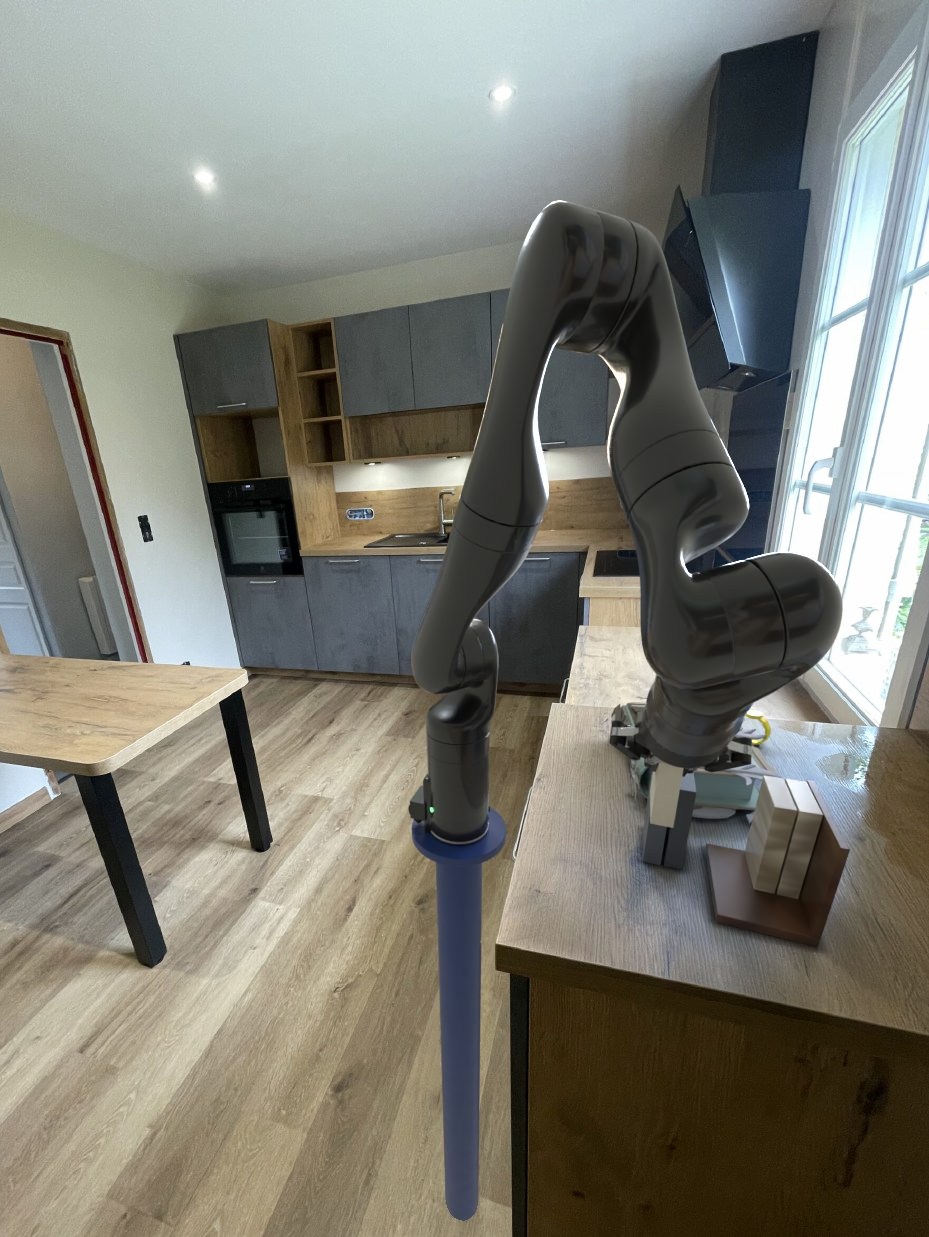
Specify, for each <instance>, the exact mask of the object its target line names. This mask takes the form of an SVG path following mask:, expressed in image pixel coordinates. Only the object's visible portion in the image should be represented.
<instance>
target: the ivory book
mask: <svg viewBox="0 0 929 1237" xmlns="http://www.w3.org/2000/svg"><path fill="white" fill-rule="evenodd" d="M683 769H684V768H680V767H675V766H672V765H669V764H667V763H665V762H662V763H659V765H658V767H657V770H656V772H653V775H652V781H651V788H650V823H651V824H656V825H661V826H666V827H671V828H673V826H674V820H675V815H676V809H677V803H678V797H679V792H680V786H681V780H682V774H683Z"/></svg>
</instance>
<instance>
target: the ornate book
mask: <svg viewBox="0 0 929 1237" xmlns="http://www.w3.org/2000/svg"><path fill="white" fill-rule="evenodd" d="M640 700H647V697H642V698H640ZM645 704H646V702H641V701H640V702H639V701H630V702H627V703H626V704H623V705H621V703H618V705H616V706H615V707H614V708H613V710H612V713H611V719H610V723H611V725H612V721H616V720H618V721H622V722H623V723H625V724H626V725H631V726H632V727H635V724H636V723H637V722H639V721H641V720H642V717H643V713H644V708H645ZM744 721H745V719H744ZM744 721H743V722H744ZM755 731H757V728H754V729H746V730H743V726H741V728H740V731H739V732H738V733H737V734H736V735H735V736H734V737H733V739H737V738H740V737H747V738H750V739H752V740H756V741H758V740H762V739H763V738H764V737H766V736H767V735H765V734H755ZM718 758H719V757H718ZM628 765H629V769H630V774H631V778H630V781H629V784H630V785H629V786H630V787H631V798H633V797H634V802H636V800H637V795H638V794H637V792H638V791H639V793H640V795H641V796H642V797H643V798H645V799H647V800H648V794H649V787H650V780H651V773H652V771H649V769H650V767H645V766H644V758H642V757H640V760H632V759H629V758H628ZM704 769H705V767H698V769H697V770H696V771H694V772H693V773H694V779H695V786H696V798H695V803H694V809H693V814H692V818H699V819H708V820H710V819H711V820H714V819H715V820H716V819H717V820H718V819H728V818H730V817H732V816H733V815H735V814H736V811H737V810H744V811H745V810H746V811H751V813H748V814H745V818H746V820H747V823H748V824H752V820H753V816H754V812H755V808H756V803H757V799H758V795H759V791H760V789H759V788H758V786H757V785H756V781H755V780H758V781H761V782H762V778H763V776H770V777H777V778H783V779H784V781H785V779H786V778H784V777H782V776H781V775H780V774H779V773H778V772H777V771H776V770H775V769H774V768H773V767H772V766H771V765H770V763H769V762H768V761H767V760H766V758H765V757H764V755H763V754H762V751H761V750H760V748H758V747H756V746H755V744H753V742H752V758H751V764H750V765H745V766H741V767H736V768H731V769H727V770H722V771H717V772H708V771H706V770H704Z"/></svg>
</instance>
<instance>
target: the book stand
mask: <svg viewBox="0 0 929 1237" xmlns="http://www.w3.org/2000/svg"><path fill="white" fill-rule="evenodd" d="M783 778H784V777H782V778H777V777H770V776H763V778H762V781H761V782H760V786H759V795H758V799H757V803H756V808H755V812H754V816H753V820H752V822H751V823H750V824H751V825H750V828H749V833H748V836H747V841H746V845H745V850H743V849H738V848H733V847H728V846H722V845H718V844H712V843H706V844H705V848H704V852H705V858H706V860H705V861H706V866H707V872H708V879H709V880H708V881H709V886H710V893H711V900H712V905H713V907H712V908H713V914H714V919H715V923H717V924H721V925H724V926H725V925H726V926H730V927H734V928H737V929H738V928H739V929H743V930H747V931H751V932H755V933H760V934H764V935H767V936H772V937H776V938H780V939H784V940H788V941H792V942H796V943H801V944H805V945H809V946H814V947H817V948H818V947H819V946H820V942H821V939H822V937H823V933H824V931H825V927H826V924H827V922H828V918H829V915H830V913H831V909H832V906H833V903H834V900H835V898H836V894H837V891H838V887H839V885H840V883H841V878H842V876H843V873H844V870H845V866H846V863H847V860H848V857H849V855H850V851H851V849H850V846H849V845H848V843H847V841H846V839H845V837H844V836H843V833H842V832H841V830H840V828H839V826H838V823H837V821H836V820H835V818H834V816H833V814H832V812H831V809H830V808H829V807H828V805H827V803H826V801H825V798H824V797H823V795H822V793H821V791H820V789H819V786H817V784H816V781H814V780H811V779H810V780H809V779H807V780H806V781H803V780H797V779H791V778H784V779H785V781H784V779H783Z"/></svg>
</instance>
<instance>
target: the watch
mask: <svg viewBox="0 0 929 1237" xmlns="http://www.w3.org/2000/svg"><path fill="white" fill-rule="evenodd" d="M745 717H747V719H751V720H758V721H759V722H760V723H761V724H762V726H763V729H764V735H767V736H766V737H764V738H762V739H760V740H752V742H753V744H754V746H758V745H761V744H763V743H765V742H766V741H768V740H769V738H770V736H771V730H772V728H771V725H770V723H769V721H768V720H767V719H766V718H765V717H764V713H763V712H761V711H758V710H753V709H749V711H748V712H747V714H746V715H745Z"/></svg>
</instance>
